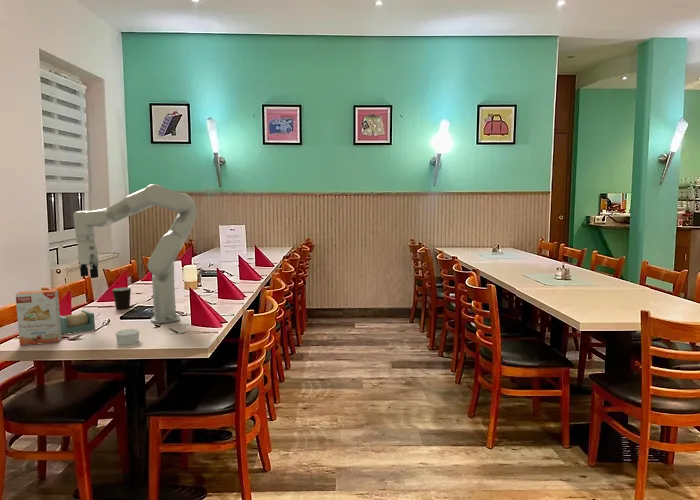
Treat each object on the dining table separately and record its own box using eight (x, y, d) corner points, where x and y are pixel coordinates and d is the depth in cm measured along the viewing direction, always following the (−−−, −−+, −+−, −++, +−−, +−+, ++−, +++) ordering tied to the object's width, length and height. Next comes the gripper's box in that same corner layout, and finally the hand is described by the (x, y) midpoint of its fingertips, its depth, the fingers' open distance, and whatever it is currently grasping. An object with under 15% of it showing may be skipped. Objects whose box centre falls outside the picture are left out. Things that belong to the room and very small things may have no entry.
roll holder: (95, 328, 240) (93, 313, 239) (65, 334, 231) (63, 318, 230) (85, 325, 247) (84, 309, 246) (56, 330, 238) (54, 315, 237)
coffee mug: (127, 310, 276) (126, 290, 275) (110, 310, 276) (109, 290, 275) (137, 305, 287) (135, 286, 286) (120, 305, 288) (119, 286, 287)
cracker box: (19, 346, 215) (14, 293, 212) (23, 342, 221) (19, 291, 218) (58, 342, 219) (54, 291, 216) (62, 339, 225) (58, 288, 222)
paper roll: (82, 324, 244) (82, 311, 243) (88, 327, 240) (87, 314, 239) (63, 327, 238) (62, 314, 237) (68, 331, 234) (67, 317, 233)
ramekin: (143, 339, 223) (142, 328, 222) (135, 345, 214) (134, 334, 213) (121, 339, 222) (120, 329, 222) (112, 346, 214) (111, 335, 213)
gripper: (102, 238, 241) (107, 277, 243) (85, 237, 252) (89, 274, 254) (85, 240, 235) (89, 279, 237) (68, 239, 246) (72, 276, 248)
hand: (89, 276), depth 245 cm, fingers open, 9 cm apart
